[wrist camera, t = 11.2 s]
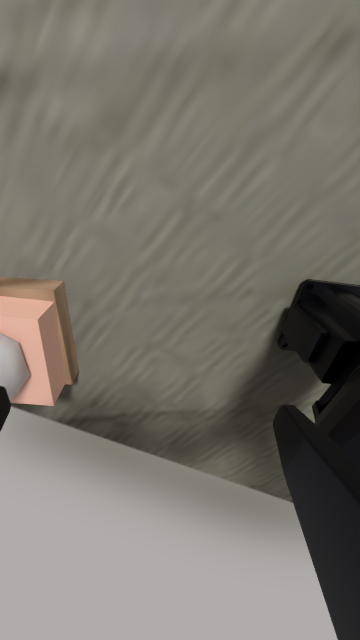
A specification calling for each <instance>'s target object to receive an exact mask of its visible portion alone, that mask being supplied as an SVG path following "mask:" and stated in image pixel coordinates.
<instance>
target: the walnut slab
mask: <svg viewBox="0 0 360 640" xmlns="http://www.w3.org/2000/svg"><path fill="white" fill-rule="evenodd" d="M0 296H6V297H15V298H24V299H34V300H43V301H52V302H54V303H55V310H56V317H57V324H58V331H59V339H60V346H61V353H62V361H63V368H64V375H65V382H66V383H65V384H73V382H74V380H75V378H76V376H77V374H78V372H79V369H78V363H77V357H76V351H75V345H74V339H73V334H72V328H71V322H70V316H69V310H68V304H67V298H66V293H65V287H64V281H52V280H36V279H21V278H5V277H0Z"/></svg>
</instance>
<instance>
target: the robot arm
mask: <svg viewBox="0 0 360 640" xmlns="http://www.w3.org/2000/svg"><path fill="white" fill-rule="evenodd" d="M309 284H311V286H310V287H309V288H307V286H308V285H309ZM284 343H286V344H284ZM283 344H284V345H283ZM278 346H279V348H280V349H282V350H290V351H296V352H297V353H298V355H299V356H300V357H301V359H302V360H303V362H305V363H308V364H309V365H310V367H311V368H312V369H313V371H314V372H315V373H316V375H317V376H318V377H319V379H320V380H321V381H322V383H327V384H331V385H330V387H329V388H328V389H327V390H326V392H325V393H324V394H323V395H322V397H321V398H320V399H319V400H318V401H316V402H315V403H314V404H313V405H312V409H313V413H314V418H315V424H314V423H313V422H312V421H311V420H310V419H309V418H307V417H306V416H305V415H304V414H303V413H302V412H301V411H300V410H298V409H297V408H296V407H295V406H293V405H281V406H280V407H279V409H278V411H277V413H276V415H275V418H274V420H273V428H274V433H275V437H276V442H277V446H278V451H279V455H280V460H281V464H282V468H283V472H284V476H285V479H286V482H287V485H288V488H289V491H290V494H291V497H292V500H293V503H294V507H295V510H296V513H297V516H298V519H299V522H300V525H301V528H302V531H303V534H304V537H305V540H306V543H307V546H308V550H309V553H310V556H311V558H312V562H313V565H314V568H315V571H316V574H317V577H318V580H319V583H320V586H321V589H322V592H323V596H324V599H325V601H326V605H327V607H328V611H329V614H330V617H331V620H332V623H333V626H334V629H335V632H336V635H337V638H338V640H360V285H353V284H345V283H337V282H328V281H320V280H312V279H307V280H305V281H304V282H303V283H302V284H301V287H300V289H299V292H298V294H297V297H296V299H295V302H294V304H293V305H292V306H291V308H290V311H289V313H288V316H287V318H286V321H285V323H284V326H283V328H282V333H281V336H280V338H279V341H278ZM10 408H11V403H10V400H9V397H8V394H7V390H6V388H5V387H4V386H0V431H1V429H2V427H3V425H4V422H5V420H6V418H7V416H8V414H9V412H10Z"/></svg>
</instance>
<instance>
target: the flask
mask: <svg viewBox="0 0 360 640" xmlns="http://www.w3.org/2000/svg"><path fill="white" fill-rule="evenodd" d="M29 376H30V374H29V371H28V369H27V366H26V363H25V360H24V357H23V354H22V352H21V349H20V346H19V343H18V342H17V341H15V340H13V339H11V338H9V337H7V336H5V335H3V334H1V333H0V386H4V387H5V388H6V390H7V394H8V397H9V400H12V399H13V398H14V397H15V396H16V394H17V393H18V392H19V390H20V389H21V387H22V386H23V384H24V383H25V381H26V380H27V379H28V377H29Z"/></svg>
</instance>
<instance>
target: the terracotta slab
mask: <svg viewBox="0 0 360 640" xmlns="http://www.w3.org/2000/svg"><path fill="white" fill-rule="evenodd" d="M0 333H1V334H3V335H5V336H7V337H9V338H11V339H13V340H15V341H17V342H18V343H19V346H20V349H21V352H22V354H23V357H24V360H25V363H26V366H27V369H28V371H29V374H30V376H29V377H28V379H27V380H26V381H25V383H24V384H23V386H22V387H21V389H20V390H19V392H18V393H17V394H16V396H15V397H14V398H13V399H12V400H10V403H20V404H34V405H49V406H54V404H55V402H56V400H57V399H58V397H59V395H60V393H61V391H62V389H63V387H64V385H65V383H66V382H65V375H64V368H63V361H62V353H61V346H60V339H59V331H58V324H57V317H56V310H55V303H54V302H52V301H43V300H34V299H24V298H15V297H6V296H0Z"/></svg>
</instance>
